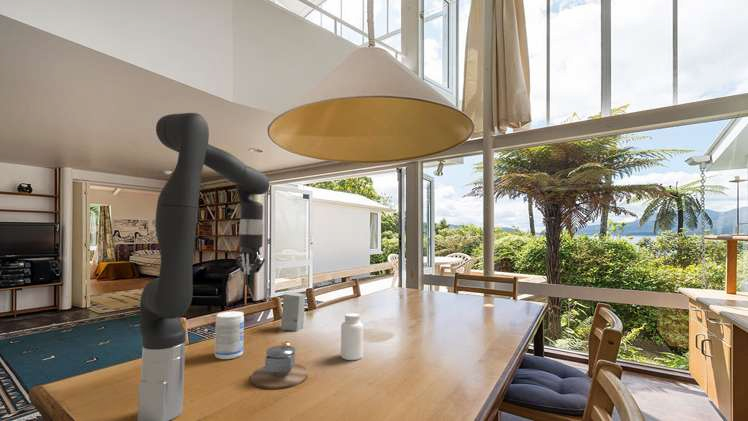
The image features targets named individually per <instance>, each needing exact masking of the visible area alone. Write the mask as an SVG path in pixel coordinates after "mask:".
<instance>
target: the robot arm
mask: <svg viewBox="0 0 748 421" xmlns="http://www.w3.org/2000/svg"><path fill="white" fill-rule="evenodd" d="M207 122H208V121H207V120H206V119H205V118H204V116H202V115H201V114H199V113H197V112H183V113H172V114H167V115H163V116H162V117H160V118H159V119H158V121H157V122H156V125H155V131H156V136H157V139H158V140H159V142H161V144H163V146H165V147H166V148H168V149H169V150H172V151H175V152H176V153H178V155H177V156H178V158H177V161H176V166H175V168H174V170H173V172H172V174H171V175H170V177H169V179H168V180H167V181H166V182H165V184H164V186H162V189H161V191H160V193H159V196H158V198H157V204H156V212H155V218H154V219H155V220H154V221H155V222H154V224H155V225H154V226H155V232H156V233H155V234H156V238H157V243H158V247H159V252H160V269H159V275H158V277H156V278H154V279H151V280H150V281H149V282H148V283H147V284H146V285H145V286H144V287H143V290H142V292H141V294H140V303H139V304H140V305H139V331H140V336H141V339H142V352H141V353H142V354H141V368H140V369H141V372H140V374H141V375H140V382H139V383H138V395H137V396H138V398H137V399H138V401H137V418H136V419H137V421H171V420H174V419H176V418H177V417H179V416H180V415H181V414H182V413H183V411H184V384H185V379H184V378H185V359H186V358H185V357H186V356H185V355H186V354H185V353H186V336H187V334H186V329H185V328H184V326H183V323H182V321H181V317H182V315H184V314H185V312H187V310H188V309H189V307H190V306H191V304H192V300H193V296H194V295H193V293H194V290H193V282H194V281H193V260H194V259H193V258H194V250H195V249H194V248H195V239H196V229H197V223H198V214H199V200H200V191H201V183H202V174H203V169H204V166H206V167H208V168H210V169H211V170H212V171H213V172H216V174H219V175H220V176H222V177H223V178H224V179H227V181H229V182H230V183H232V184H235V185H236V186H235V187H236V191H237V196H238V199H239V204H240V220H239V227H238V228H239V230H238V232H239V233H238V247H239V248H241V249H240V255H237V256H236V257H235V259H236V262H237V264H238V267H239V270H240V272H241V273H243V274H244V285H245V286H247V287H252V286H254V283H255V274H257V273H259V272H260V270H261V268H262V267H263V265H264V264H265V261H266V259H265V258H264V257H262V256H261V250H260V249H261V248H262V247H263V243H264V242H263V241H264V240H263V238H264V220H263V215H264V205H263V204H262V203H261V202H259V201H256V200H254V197H253V195H255V196H256V195H258V196H260V195H264V194H266V193H267V192H268V191H269V190H270V180H269V178H268V177H267V176H266V174H264V173H263V172H261V171H260V170H257V169H255V168H253V167H252V166H248V165H247V164H245V163H244V162H242V160H240V159H239V158H237V157H236V156H235V155H233V154H232V153H230V152H228V151H225V150H223V149H222V148H219V147H216V146H214V145H212V144H209V137H210V130H209V124H208V123H207Z"/></svg>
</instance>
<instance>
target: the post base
mask: <svg viewBox="0 0 748 421" xmlns="http://www.w3.org/2000/svg"><path fill="white" fill-rule="evenodd" d="M250 376H251V377H250V378H251V379H250V381H251V383H252V385H254V386H256V387H257V388H260V389H266V390H267V389H268V390H281V389H288V388H292V387H296V386H298V385H300V384H302V383H304V382H305V381H306V380H307V379H308V377H309V370H308V368H306V367H305V366H303V365H301V364H297V363H294V365H293V367H292V370H291V372H265V365H264V366H261V367H260V368H258V369H257V368H256V369H255V371H253V372H252V374H251V375H250Z"/></svg>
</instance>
